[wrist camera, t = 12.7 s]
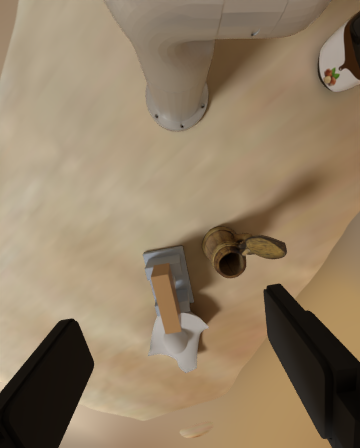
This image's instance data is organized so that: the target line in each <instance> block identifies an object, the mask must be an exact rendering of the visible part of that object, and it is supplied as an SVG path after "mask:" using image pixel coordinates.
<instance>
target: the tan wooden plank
mask: <svg viewBox="0 0 360 448" xmlns="http://www.w3.org/2000/svg"><path fill="white" fill-rule="evenodd" d="M151 281H152V285H153V288H154V292H155V296H156V300H157V304H158V307H159V311H160V315H161V319H162V323H163V326H164V330H165V334H171V333H177V332H182V329H181V311H180V307H179V302H178V298H177V294H176V289H175V285H174V281H173V276H172V272H171V268H170V263H165V264H159V265H154V267H153V271H152V274H151Z"/></svg>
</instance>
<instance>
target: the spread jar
mask: <svg viewBox="0 0 360 448" xmlns="http://www.w3.org/2000/svg"><path fill="white" fill-rule="evenodd" d="M318 76H319V79H320V81H321V82H322V84H323V85H324V86H325V87H326V88H327V89H329V90H331V91H334V92H340V91H344V90H347V89H350V88H352V87H355V86H357V85H359V84H360V11H359V12H358V13H357V14H355V15H354V16H353V17H351V18H350V19H349V20H348V21H347V22H345V23H344V24H343V25H342V26H341V27H340V28H339V29H338V30H337V31H336V32H334V33H333V34H332V35H331V36H330V38H329V39H328V40H327V41H326V42H325V44H324V45H323V47H322V49H321V51H320V54H319V58H318Z"/></svg>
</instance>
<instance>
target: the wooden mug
mask: <svg viewBox="0 0 360 448" xmlns="http://www.w3.org/2000/svg"><path fill="white" fill-rule="evenodd" d="M242 241H244V243H242V244H240V242H242ZM202 250H203V252H204V253H205V255H206V256H207V257H208V258H209V259H210V260H211V264H212V266H213V268H214V269H215V270H216V271H217V272H218V273H219V274H220V275H222V276H223V277H226V278H235V277H238V276H239V275H240V274H242V273H243V272H244V270H245V268H246V254H247V255H251V254H256V255H258V256H260V257H263V258H267V259H279V258H282V257H284V256H285V255H286V253H287V249H286V245H285V243H284V242H282V241H279V240H277V239H274V238H271V237H268V236H264V235H256V236H252V235H251V234H248V233H242V234H236V233H235V232H234V231H233V230H232V229H230V228H227V227H215V228H213V229H211V230H210V231H209V232H208V233H207V234H206V235H205V237H204V240H203V242H202Z"/></svg>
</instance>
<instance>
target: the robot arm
mask: <svg viewBox="0 0 360 448" xmlns="http://www.w3.org/2000/svg"><path fill="white" fill-rule="evenodd" d="M330 1H331V0H104V2H105V4H106V6H107V8H108V9H109V11H110V13H111V15H112V16H113V18H114V19H115V21H116V22H117V24H118V25H119V27H120V28H121V30H122V31H123V32H124V34H125V35H126V36H127V38H128V39H129V40H130V42H131V43H132V45H133V47H134V49H135V52H136V54H137V57H138V60H139V62H140V65H141V68H142V71H143V73H144V76H145V79H146V82H147V87H146V103H147V107H148V110H149V112H150V114H151V116H152V117H153V119H154V120H155V121H156V122H157V123H158V124H159V125H160V126H161V127H163V128H165V129H167V130H170V131H185V130H187V129H190V128H191V127H193V126H194V125H196V124H197V123H198V122H199V120H200V119H201V118H202V116H203V114H204V112H205V110H206V107H207V103H208V86H207V83H206V79H207V75H208V72H209V68H210V64H211V61H212V57H213V53H214V46H215V39H255V38H279V37H286V36H291V35H294V34H296V33H298V32H300V31H302V30H304V29H305V28H307V27H308V26H309V25H311V24H312V23H313V22H314V21H315V20H316V19H317V18H318V17H319V16H320V14H321V13H322V12H323V11H324V10H325V8H326V7H327V6H328V4H329V3H330ZM202 106H203V109H202V108H201V107H202ZM157 116H158V118H156V117H157ZM181 126H183V128H181ZM264 302H265V313H266V324H267V334H268V338H269V341H270V343H271V345H272V347H273V349H274V351H275V353H276V354H277V356H278V358H279V360H280V362H281V364H282V366H283V367H284V369H285V371H286V373H287V375H288V377H289V379H290V381H291V382H292V384H293V386H294V388H295V390H296V392H297V394H298V395H299V397H300V399H301V401H302V403H303V405H304V407H305V409H306V410H307V412H308V414H309V416H310V418H311V420H312V422H313V423H314V425H315V427H316V429H317V431H318V433H319V434H320V436H321V437H322V438H323V439H328V441H329V443H330V445H331V446H332V448H360V362H359V361H358V360H357V359H356V358H355V357H354V356H353V355H352V354H351V352H349V350H348V349H347V348H346V347H345V346H344V345H343V344H342V343H341V342H340V341H339V340H338V339H337V338H336V337H335V336H334V335H333V334H332V333H331V332H330V330H329V329H328V328H327V327H326V326H325V325H324V324H323V323H322V322H321V321H320V320H319V319H318V318H317V317H316V316H315V315H314V314H313V313H312V312H310V311H305V310H304V309H303V308H302V307H301V306H300V305H299V304H298V303H297V301H296V300H295V299H294V298H293V297H292V296H291V295H290V294H289V293H288V292H287V290H286V289H285V288H284V287H283V286H282V285H281V284H274V285H268V286H267V289H264ZM93 368H94V361H93V358H92V356H91V353H90V351H89V348H88V346H87V343H86V341H85V338H84V336H83V333H82V331H81V328H80V326H79V323H78V322H77V321H75V320H74V319H66V320H61V321H59V322H58V323H57V324H56V326H55V327H54V328H53V329H52V330H51V332H50V333H49V334H48V335H47V336H46V338H45V339H44V340H43V341H42V343H41V344H40V345H39V346H38V347H37V349H36V350H35V351H34V352H33V353H32V355H31V356H30V357H29V358H28V360H27V361H26V362H25V363H24V364H23V366H22V367H21V368H20V369H19V370H18V372H17V373H16V374H15V375H14V377H13V378H12V379H11V380H10V381H9V383H8V384H7V385H6V386H5V387H4V389H3V390H2V391H1V393H0V448H58V447H59V445H60V443H61V441H62V438H63V436H64V434H65V432H66V429H67V427H68V425H69V423H70V420H71V418H72V416H73V414H74V411H75V409H76V407H77V405H78V402H79V400H80V398H81V396H82V393H83V391H84V389H85V387H86V385H87V382H88V380H89V378H90V376H91V373H92V371H93Z"/></svg>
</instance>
